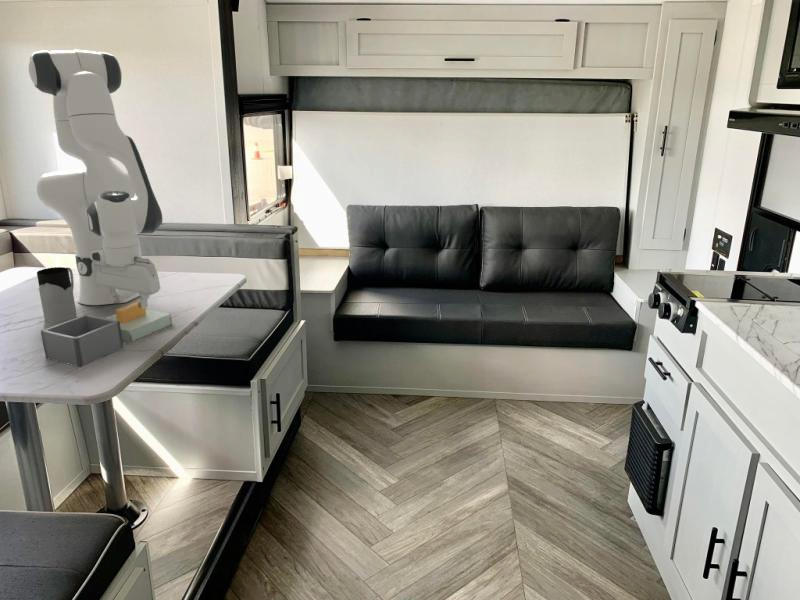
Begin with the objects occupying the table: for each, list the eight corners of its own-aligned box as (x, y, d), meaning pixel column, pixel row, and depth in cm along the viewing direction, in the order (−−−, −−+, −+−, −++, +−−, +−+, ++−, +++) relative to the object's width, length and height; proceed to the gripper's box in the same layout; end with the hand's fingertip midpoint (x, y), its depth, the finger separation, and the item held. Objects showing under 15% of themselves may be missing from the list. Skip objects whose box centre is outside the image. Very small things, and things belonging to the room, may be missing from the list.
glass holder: (37, 329, 167) (27, 275, 162) (62, 311, 181) (53, 261, 176) (70, 329, 168) (61, 275, 163) (93, 311, 181) (85, 261, 176)
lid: (135, 316, 177) (132, 294, 175) (171, 323, 172) (169, 301, 170) (93, 333, 165) (89, 310, 162) (130, 342, 159) (127, 318, 157)
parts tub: (90, 340, 160) (85, 314, 158) (123, 347, 156) (119, 321, 154) (45, 358, 149) (40, 330, 147) (80, 366, 145) (75, 338, 143)
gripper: (162, 256, 160) (168, 307, 165) (104, 247, 168) (111, 295, 173) (143, 263, 155) (150, 314, 160) (84, 252, 163) (92, 302, 167)
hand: (129, 304), depth 166 cm, fingers open, 8 cm apart
